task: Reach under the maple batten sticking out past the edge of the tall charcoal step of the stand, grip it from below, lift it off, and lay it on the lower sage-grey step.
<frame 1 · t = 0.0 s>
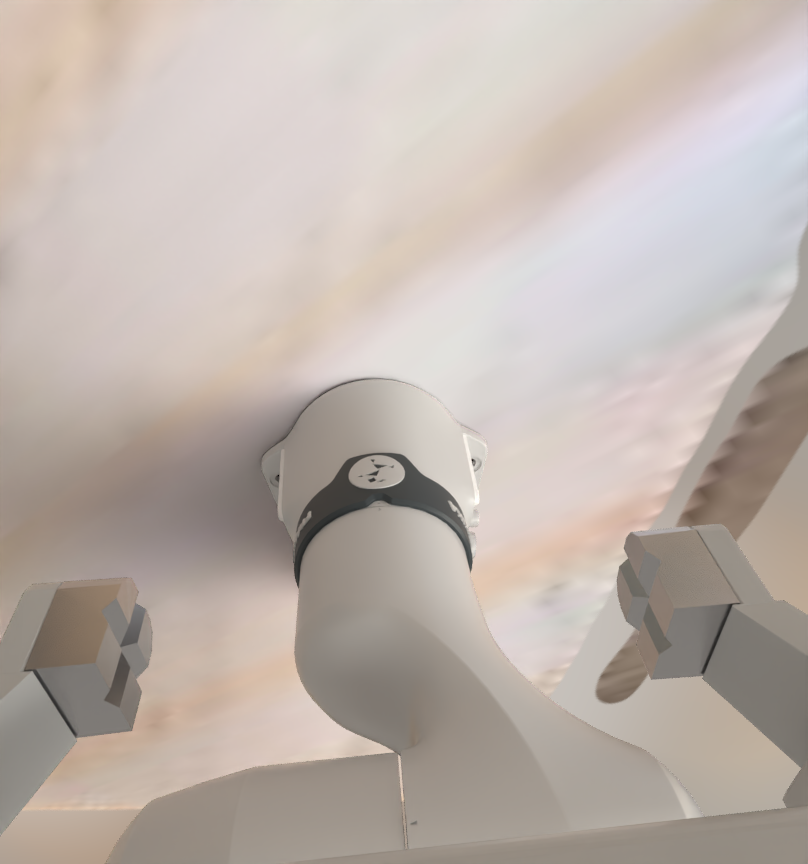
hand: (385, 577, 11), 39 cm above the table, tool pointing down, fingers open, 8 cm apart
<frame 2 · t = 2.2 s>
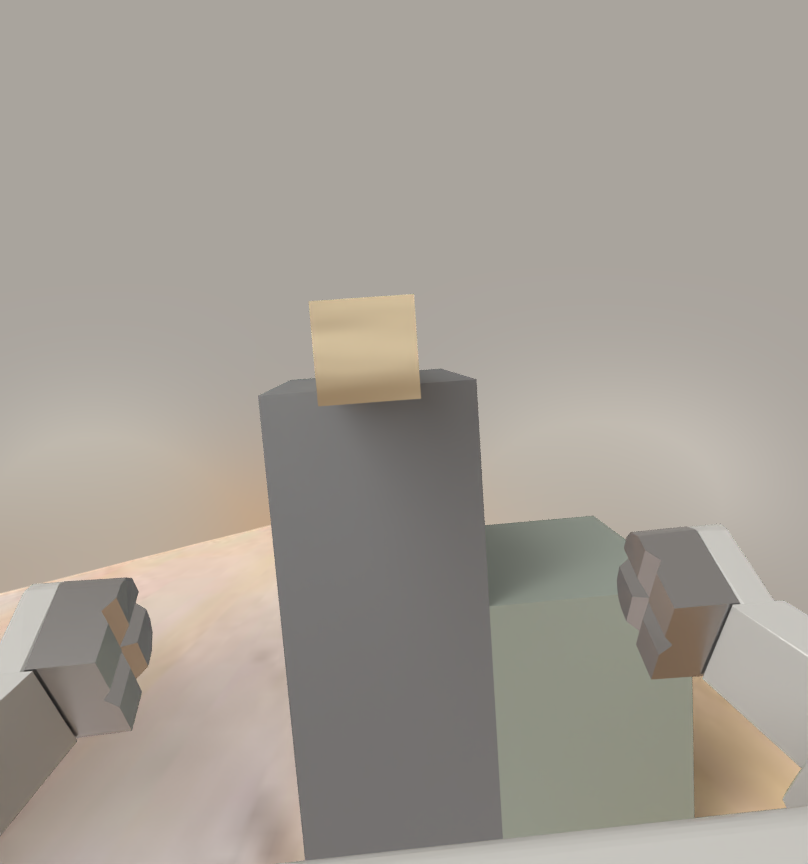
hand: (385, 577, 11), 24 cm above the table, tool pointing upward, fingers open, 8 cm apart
step stand: (481, 794, 41), on the table
batten: (367, 385, 33), point 26 cm above the table, touching step stand
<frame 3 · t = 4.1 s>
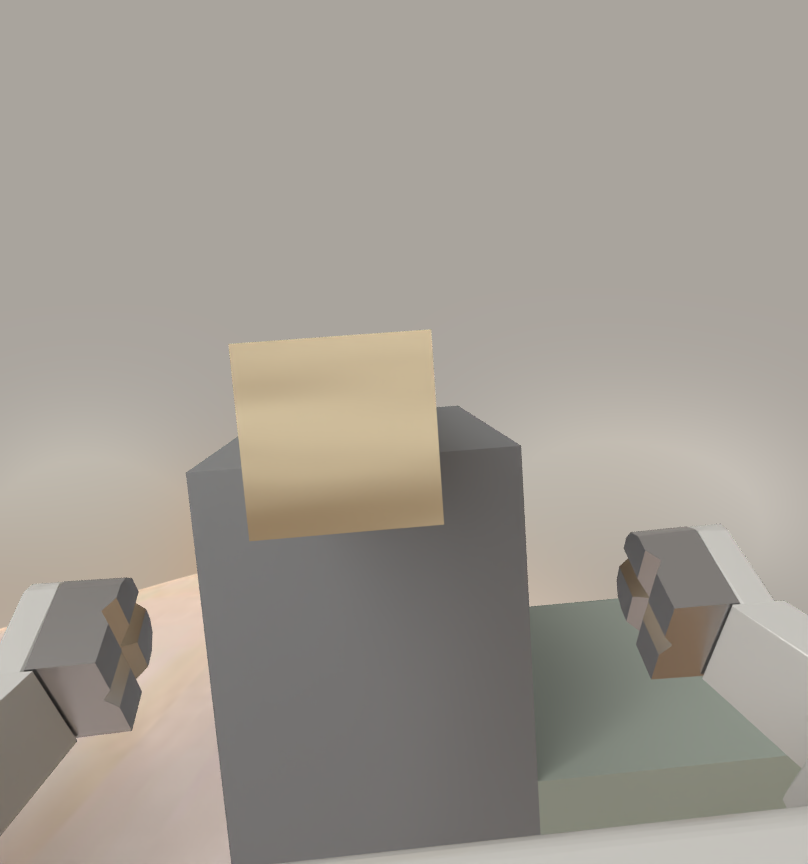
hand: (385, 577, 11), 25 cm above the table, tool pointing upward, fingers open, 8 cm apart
batten: (355, 449, 22), point 26 cm above the table, touching step stand
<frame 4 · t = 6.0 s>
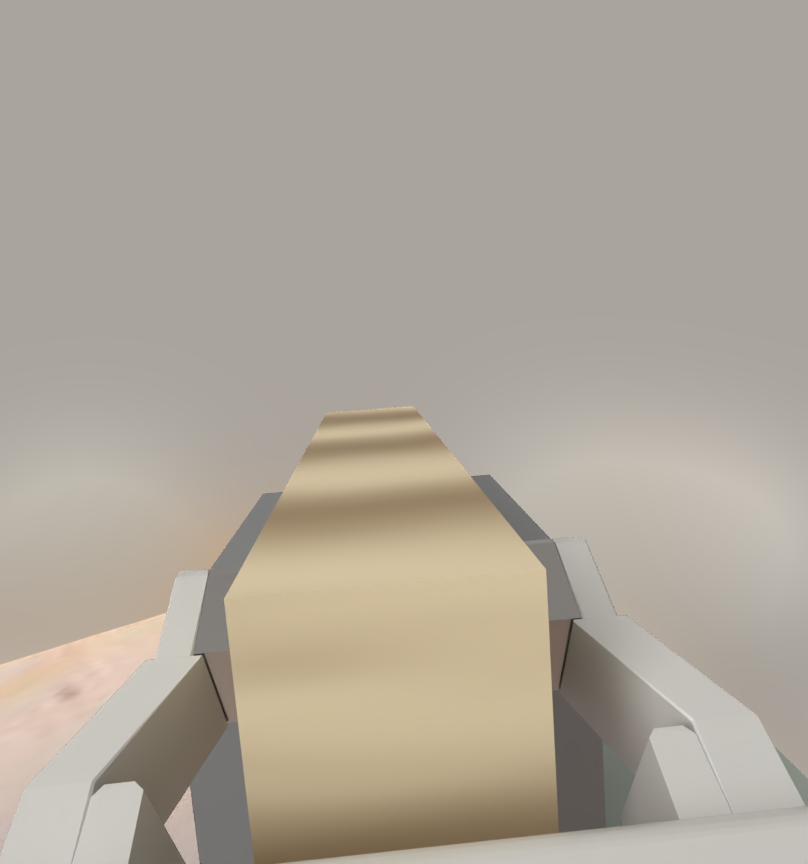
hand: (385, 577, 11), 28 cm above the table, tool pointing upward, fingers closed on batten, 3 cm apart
batten: (384, 577, 18), point 26 cm above the table, touching gripper
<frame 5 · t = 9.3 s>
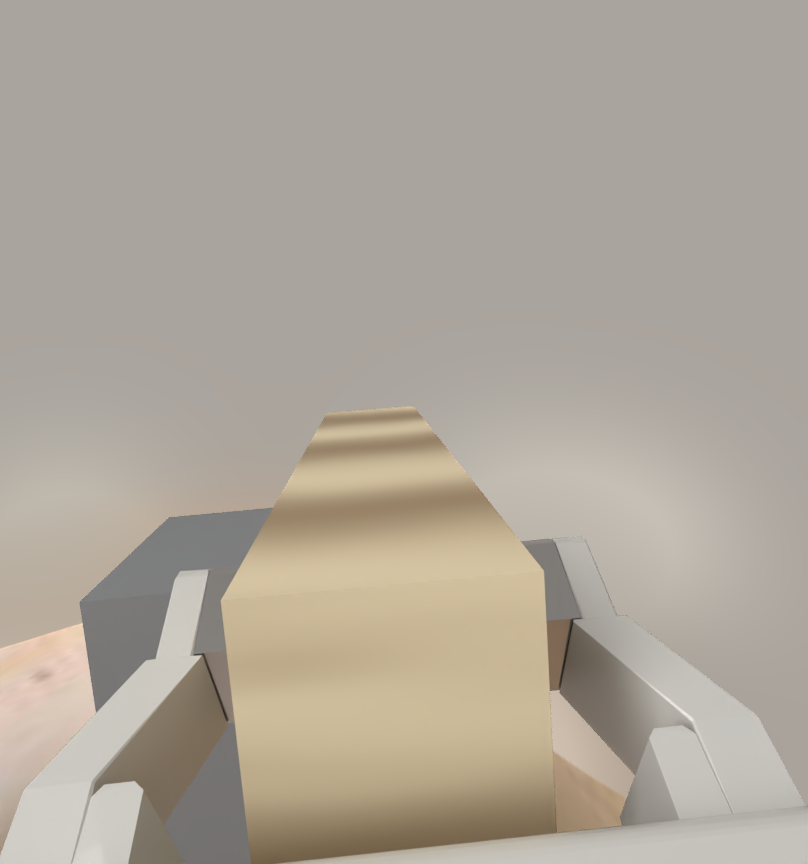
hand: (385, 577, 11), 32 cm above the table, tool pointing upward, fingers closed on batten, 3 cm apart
batten: (383, 578, 18), point 30 cm above the table, touching gripper
when the fingers open (19 cm above the table, at t = 12.7 s): batten drops 1 cm, resting on step stand.
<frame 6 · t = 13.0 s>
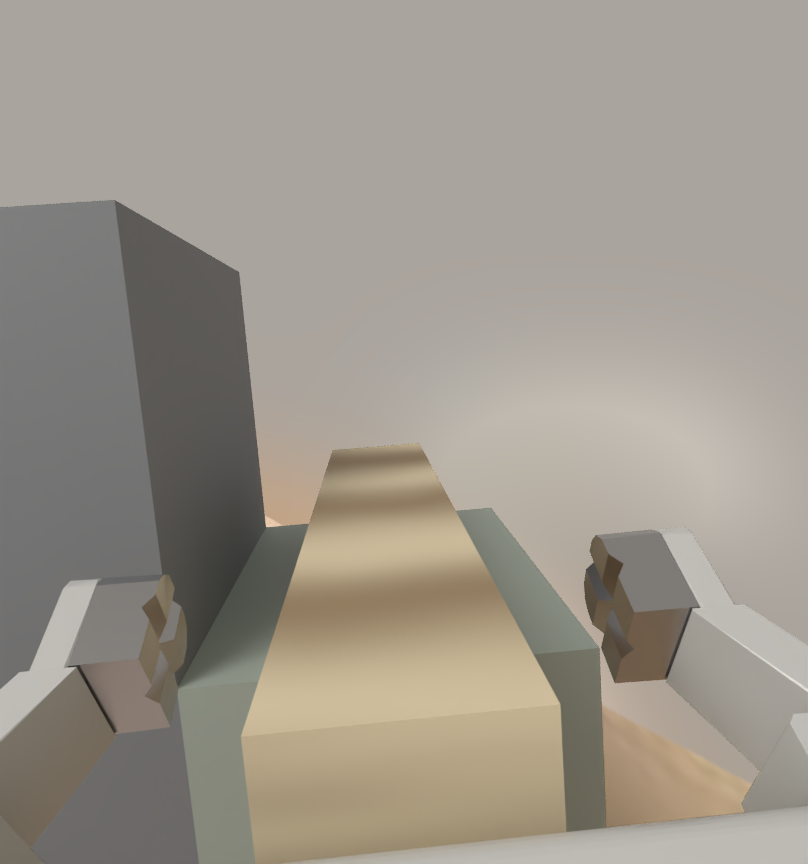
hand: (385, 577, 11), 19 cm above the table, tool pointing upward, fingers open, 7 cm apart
batten: (392, 634, 18), point 15 cm above the table, touching step stand
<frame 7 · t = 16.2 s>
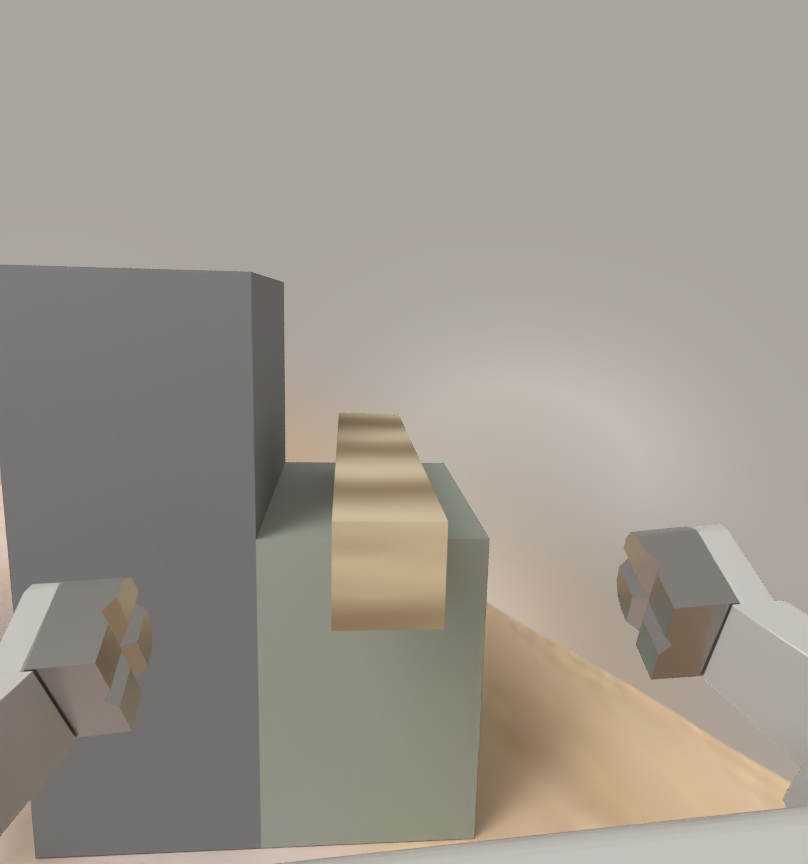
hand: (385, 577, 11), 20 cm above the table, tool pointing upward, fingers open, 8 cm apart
step stand: (276, 749, 38), on the table
batten: (374, 525, 31), point 15 cm above the table, touching step stand
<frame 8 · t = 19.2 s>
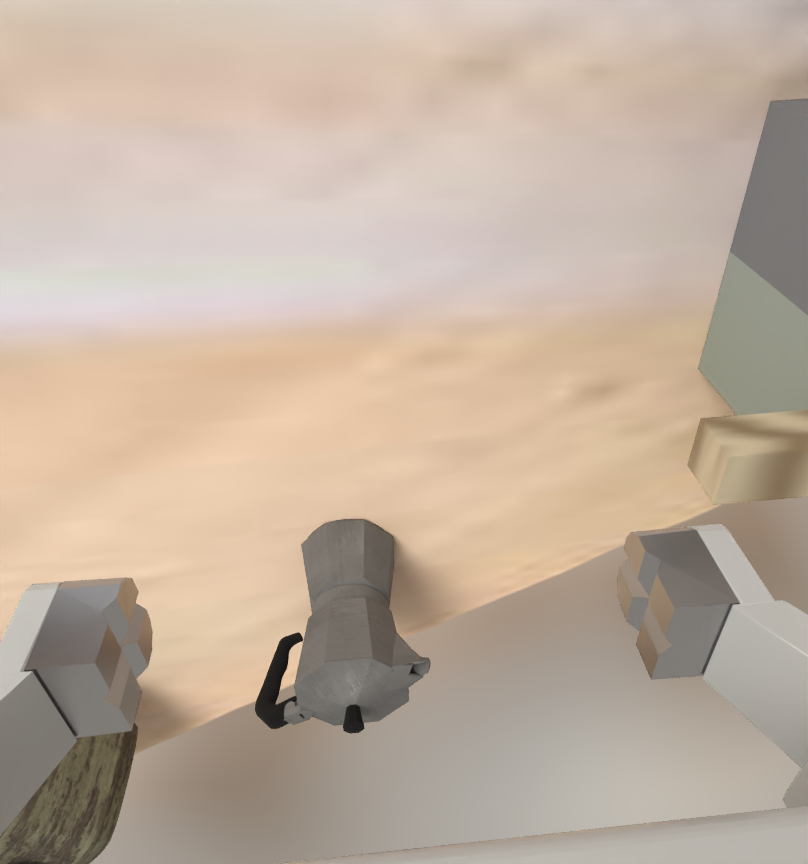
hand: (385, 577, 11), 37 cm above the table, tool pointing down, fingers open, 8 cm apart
tabletop clock: (87, 690, 74), on the table
coffeepot: (338, 553, 65), on the table
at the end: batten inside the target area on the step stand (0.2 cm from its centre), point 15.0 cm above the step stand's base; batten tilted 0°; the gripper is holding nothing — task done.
